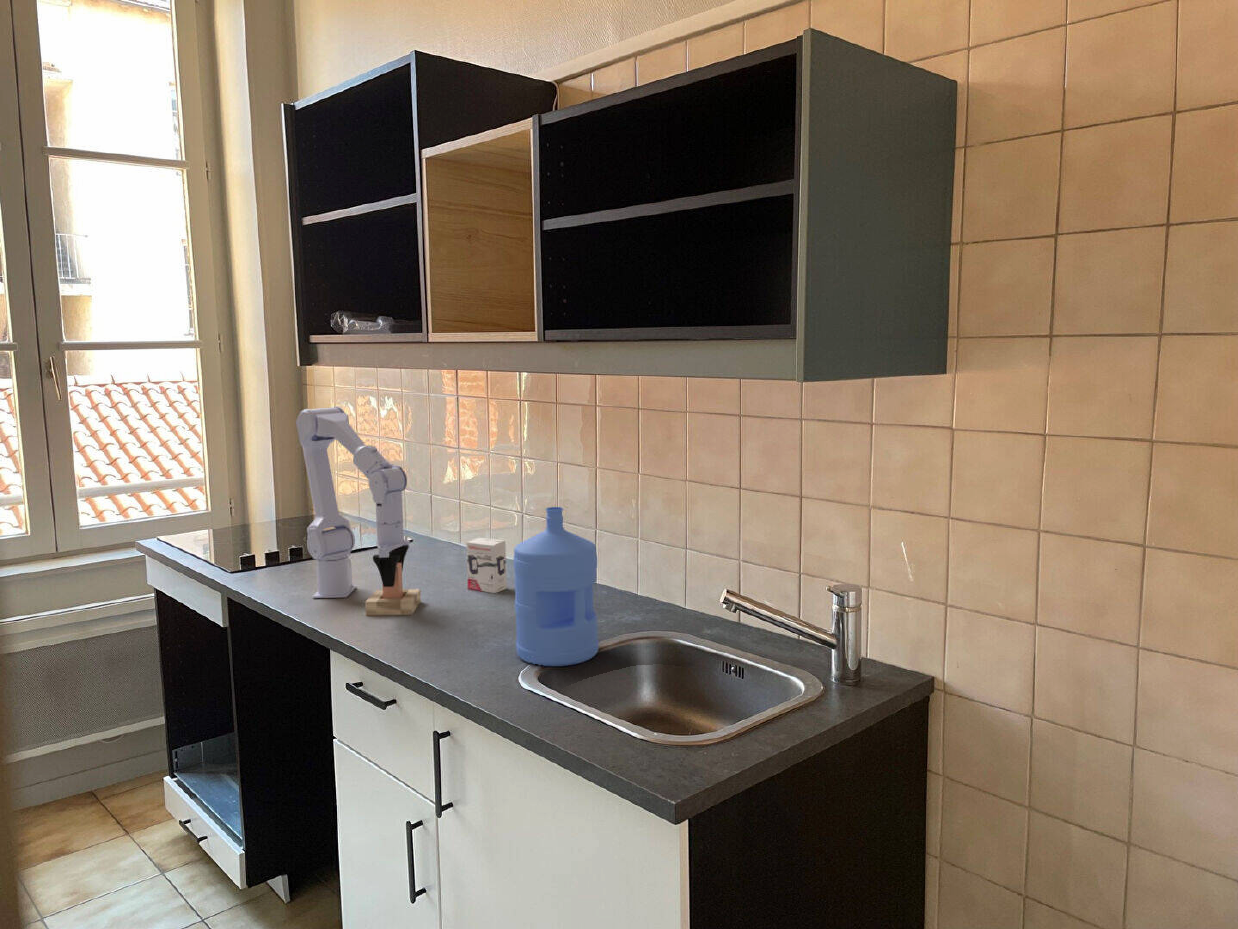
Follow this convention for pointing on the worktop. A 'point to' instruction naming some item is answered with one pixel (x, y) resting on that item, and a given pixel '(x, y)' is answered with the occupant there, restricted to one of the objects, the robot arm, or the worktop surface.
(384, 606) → the socket block
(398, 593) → the peg
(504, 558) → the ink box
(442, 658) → the worktop surface
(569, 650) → the water jug
